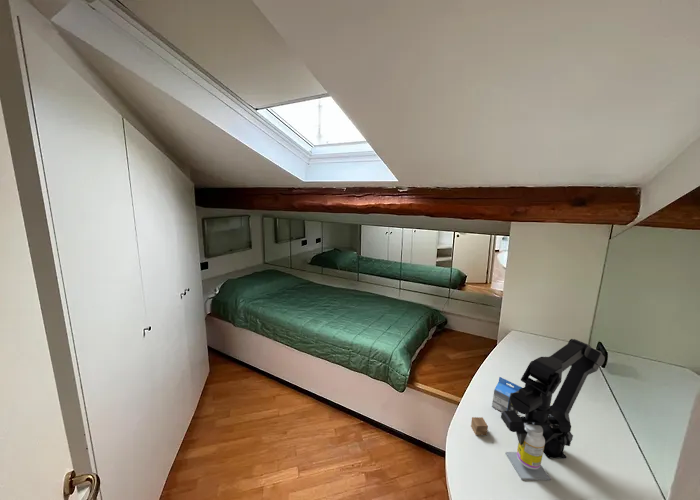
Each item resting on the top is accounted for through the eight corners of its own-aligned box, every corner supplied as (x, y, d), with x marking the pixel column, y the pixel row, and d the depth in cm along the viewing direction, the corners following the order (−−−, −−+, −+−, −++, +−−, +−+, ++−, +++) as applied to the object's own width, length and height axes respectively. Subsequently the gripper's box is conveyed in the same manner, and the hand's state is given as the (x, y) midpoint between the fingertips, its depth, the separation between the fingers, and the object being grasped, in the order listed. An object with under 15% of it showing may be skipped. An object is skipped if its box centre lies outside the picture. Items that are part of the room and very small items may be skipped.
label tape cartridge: (491, 406, 118) (495, 380, 116) (495, 402, 121) (499, 376, 118) (514, 419, 112) (519, 391, 109) (518, 414, 115) (522, 387, 112)
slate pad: (531, 453, 98) (532, 452, 97) (550, 479, 89) (550, 478, 89) (505, 453, 97) (505, 451, 97) (521, 479, 89) (521, 478, 88)
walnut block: (481, 426, 108) (482, 417, 108) (486, 435, 104) (487, 426, 104) (470, 426, 108) (472, 417, 107) (475, 435, 104) (476, 426, 104)
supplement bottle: (518, 447, 97) (524, 415, 94) (541, 459, 93) (548, 425, 90) (514, 461, 92) (520, 427, 89) (538, 475, 88) (545, 439, 85)
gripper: (550, 383, 96) (543, 423, 99) (495, 383, 96) (489, 423, 99) (577, 408, 85) (567, 452, 88) (514, 408, 85) (507, 452, 88)
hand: (531, 443), depth 91 cm, fingers closed on supplement bottle, 7 cm apart
